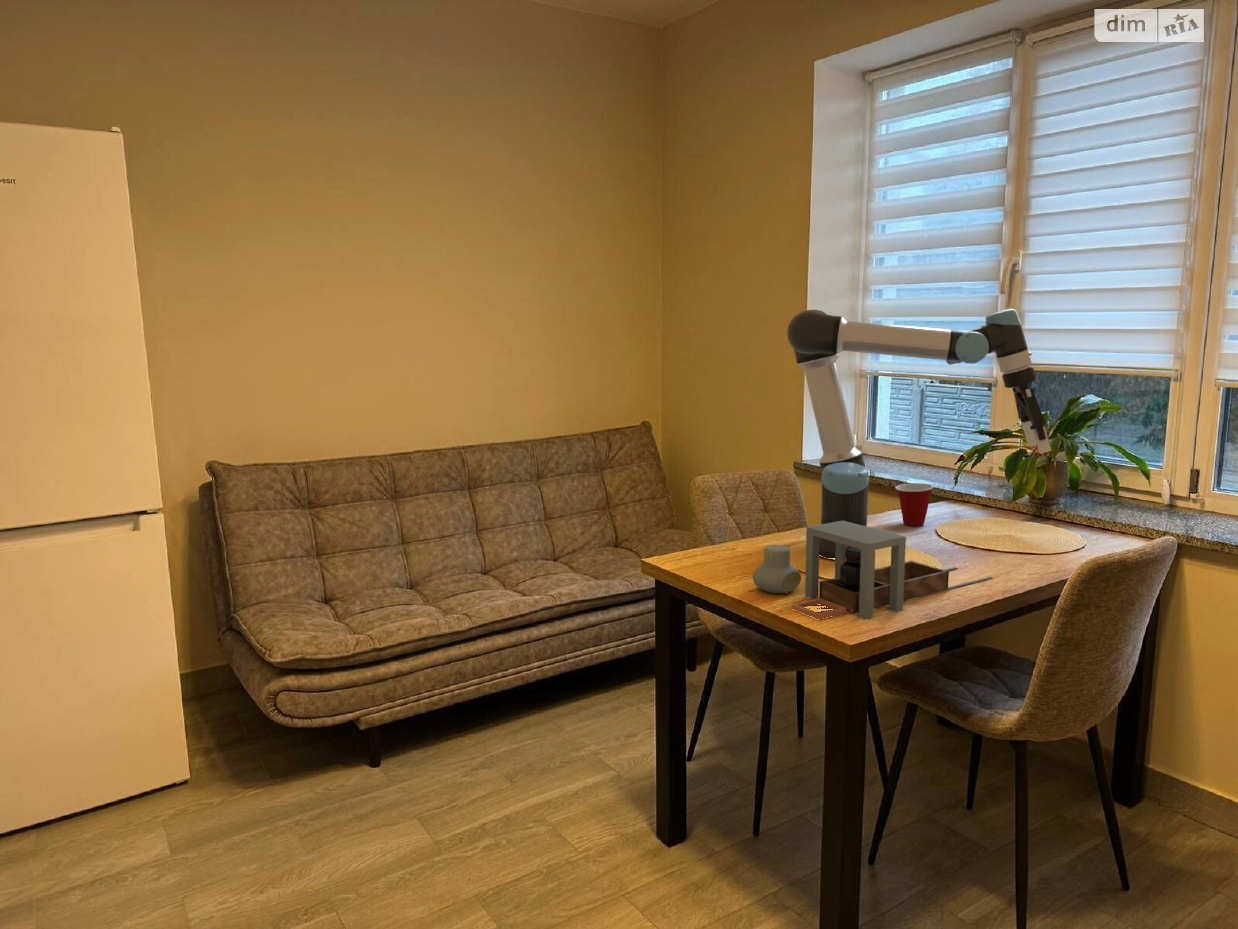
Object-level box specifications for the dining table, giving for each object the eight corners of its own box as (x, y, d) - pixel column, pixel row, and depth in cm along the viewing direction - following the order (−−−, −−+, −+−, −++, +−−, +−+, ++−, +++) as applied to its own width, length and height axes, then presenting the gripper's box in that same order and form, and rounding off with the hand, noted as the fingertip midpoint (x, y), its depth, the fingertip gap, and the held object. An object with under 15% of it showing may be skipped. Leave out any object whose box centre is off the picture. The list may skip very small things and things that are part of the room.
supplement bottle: (869, 609, 185) (871, 554, 183) (837, 606, 187) (838, 552, 185) (871, 599, 191) (873, 546, 189) (839, 596, 194) (841, 544, 192)
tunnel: (942, 564, 217) (945, 502, 215) (1006, 582, 202) (1010, 515, 199) (805, 596, 194) (806, 527, 191) (866, 619, 179) (868, 544, 176)
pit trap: (791, 609, 185) (791, 604, 185) (819, 603, 189) (819, 597, 189) (818, 620, 179) (818, 615, 178) (846, 613, 183) (846, 607, 182)
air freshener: (776, 581, 206) (777, 540, 204) (805, 589, 200) (806, 546, 198) (747, 591, 198) (747, 549, 197) (776, 599, 192) (777, 555, 191)
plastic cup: (890, 520, 265) (892, 481, 263) (927, 521, 264) (929, 482, 262) (897, 528, 255) (898, 488, 253) (935, 529, 253) (937, 489, 251)
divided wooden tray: (910, 577, 206) (911, 560, 205) (948, 588, 197) (948, 571, 196) (819, 598, 191) (819, 581, 190) (855, 612, 182) (855, 593, 181)
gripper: (1043, 367, 209) (1067, 451, 210) (1022, 363, 232) (1044, 438, 234) (1010, 376, 211) (1034, 459, 212) (993, 371, 235) (1015, 446, 236)
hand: (1039, 448), depth 223 cm, fingers open, 13 cm apart
